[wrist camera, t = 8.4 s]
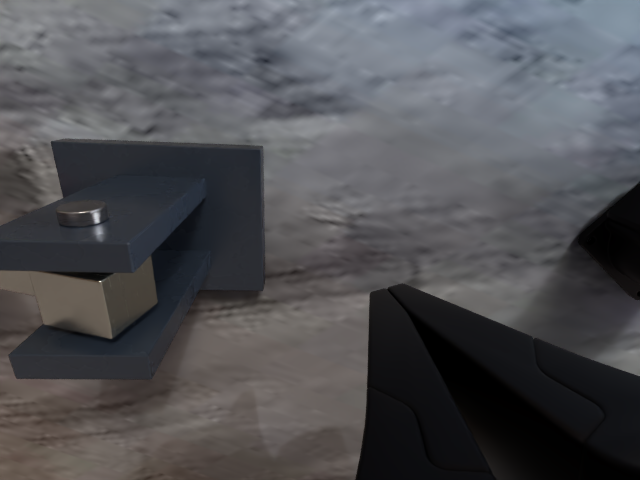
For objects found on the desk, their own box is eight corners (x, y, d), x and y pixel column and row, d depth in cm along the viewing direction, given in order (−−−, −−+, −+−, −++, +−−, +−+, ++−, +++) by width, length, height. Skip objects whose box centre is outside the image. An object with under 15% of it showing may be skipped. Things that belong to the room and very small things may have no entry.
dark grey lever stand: (94, 277, 22) (-59, 413, 12) (65, 138, 19) (-165, 182, 9) (265, 281, 22) (237, 413, 13) (263, 145, 19) (225, 194, 10)
